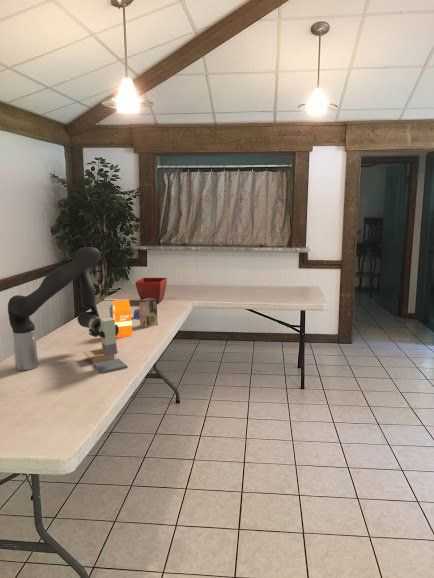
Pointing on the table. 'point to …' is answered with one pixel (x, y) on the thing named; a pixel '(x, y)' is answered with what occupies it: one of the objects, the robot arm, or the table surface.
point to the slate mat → (110, 365)
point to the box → (108, 336)
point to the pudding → (136, 314)
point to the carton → (98, 355)
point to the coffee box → (148, 312)
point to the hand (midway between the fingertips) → (110, 334)
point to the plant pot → (151, 288)
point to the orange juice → (122, 317)
